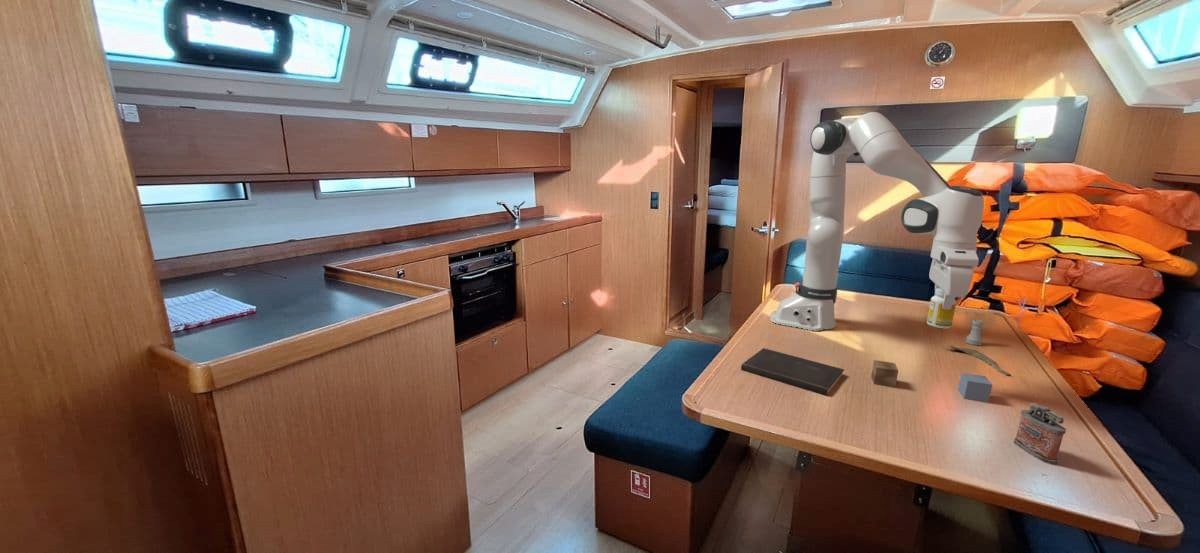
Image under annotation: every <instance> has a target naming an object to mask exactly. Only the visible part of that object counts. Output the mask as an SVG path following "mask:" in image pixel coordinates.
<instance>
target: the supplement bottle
mask: <svg viewBox="0 0 1200 553" xmlns="http://www.w3.org/2000/svg"><path fill="white" fill-rule="evenodd" d="M944 293H945V292H944V291H943V290H942V289H940V288H937V289H936V292H935V291H934V295H933V296H932V297H931V298H930V303H929V308H928V313H927V319H926V323H927V324H928V325H929V326H931V327H934V328H939V329H951V327H952V325H953V321H954V317H955V311H956V307H957V306H956V305H957V300H956V299H955V300H954V301H953V303H952V307H951V309H950V310H948V309H943V308H942V306H941V305H942V301H943V300H944V297H945V296H944ZM935 294H936V296H935Z"/></svg>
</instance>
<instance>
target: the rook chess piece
mask: <svg viewBox="0 0 1200 553" xmlns="http://www.w3.org/2000/svg"><path fill="white" fill-rule="evenodd" d="M970 323H971V324H972V325H971V330H970V331H969V332H970V333H969V334H968V335H967V336H966V338H965V340H964V342H965V343H966V342H967V344H968V345H971V344H972V345H971V346H977V345H979V346H981V345H982V344H983V343H982V342H983V339H982V336H981V331H982V330H983V328H982V327H983V326H984V325H985V323H984V320H982V319H979V318H978V319H976V318H975V319H974V318H973V320H972V321H971V322H970Z"/></svg>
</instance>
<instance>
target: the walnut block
mask: <svg viewBox="0 0 1200 553" xmlns="http://www.w3.org/2000/svg"><path fill="white" fill-rule="evenodd" d="M898 374H899V368H898V367H897V365H896V363H895V362H890V361H883V360H876V359H873V363H872V371H871V376H870V377H871V380H872V383H873V385H877V386H884V387H889V388H896V386H897V379H898Z"/></svg>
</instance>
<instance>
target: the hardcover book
mask: <svg viewBox="0 0 1200 553" xmlns="http://www.w3.org/2000/svg"><path fill="white" fill-rule="evenodd" d="M740 371H743V372H747V373H750V374H753V375H757V376H760V377H763V378H766V379H769V380H773V381H776V382H779V383H782V384H784V385H785V384H786V385H789V386H793V387H795V388H799V389H802V390H804V391H808V392H812V393H816V394H818V395H822V396H825V397H827V396H828V393H829V392H830V391H831V390H832V388H834V386H835V385H836V383H838V381H839V379H840V378H841V377H842V376H843V372H844V371H845V369H843V368H840V367H836V366H832V365H828V364H825V363H821V362H818V361H814V360H811V359H806V358H802V357H798V356H795V355H792V354H787V353H784V352H779V351H777V350H772V349H769V348H764V347H763V348H761V349H760V350H759V351H758V352H756V353H755V354H753V355H752V356H751V357H749V358H748V359H746V361H744V362H743V363H742V364H741V365H740Z"/></svg>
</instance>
